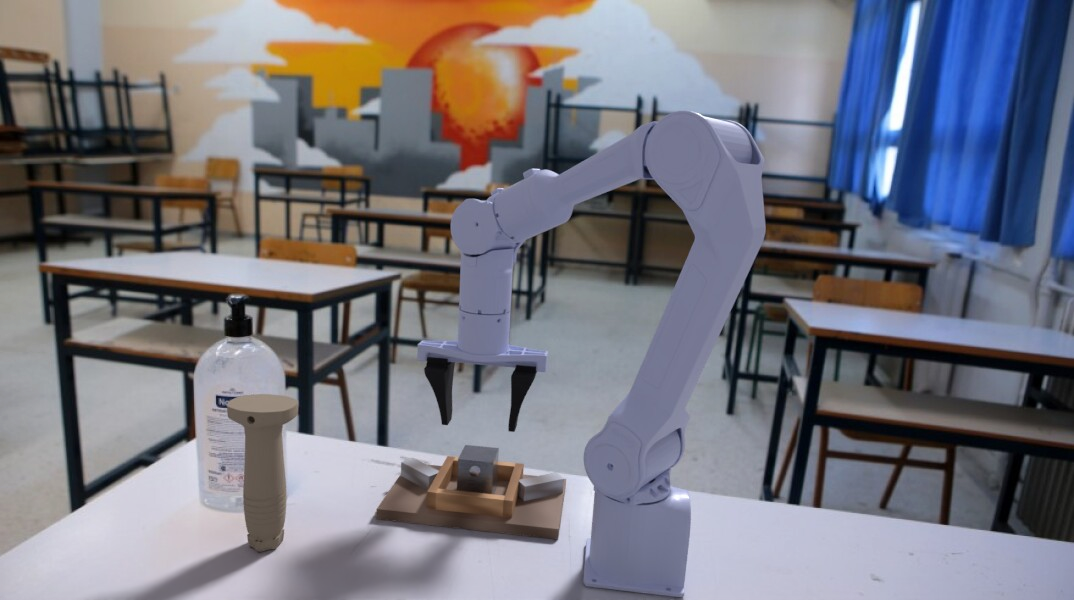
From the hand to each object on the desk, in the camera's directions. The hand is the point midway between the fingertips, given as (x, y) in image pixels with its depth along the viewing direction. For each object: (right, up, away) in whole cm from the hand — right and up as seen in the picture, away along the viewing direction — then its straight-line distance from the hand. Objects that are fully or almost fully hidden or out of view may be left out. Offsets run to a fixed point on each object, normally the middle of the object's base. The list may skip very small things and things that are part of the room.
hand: (479, 425), depth 77 cm
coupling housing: (0, -9, +1) cm, 9 cm away
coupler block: (0, -8, +1) cm, 8 cm away
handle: (-21, -10, -9) cm, 25 cm away
